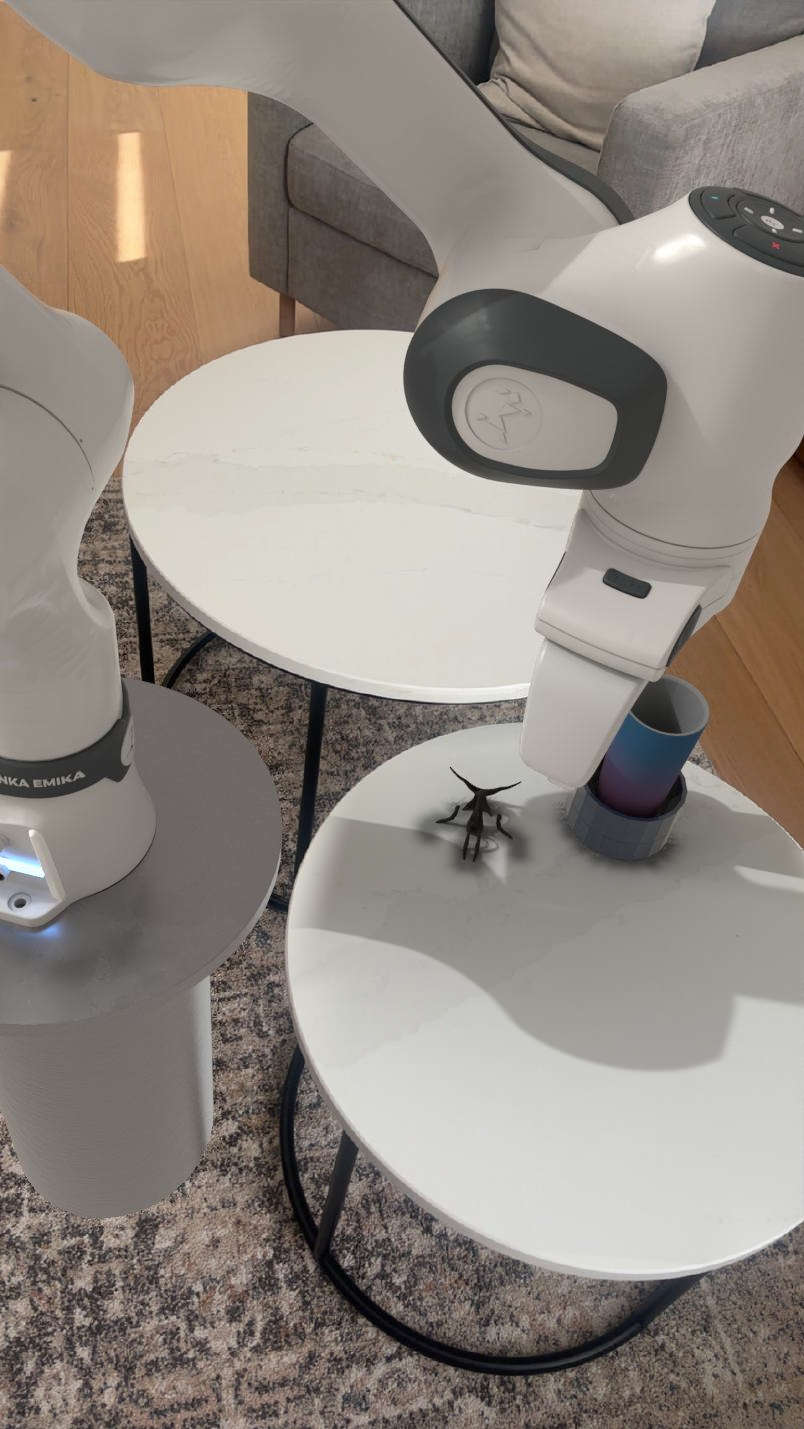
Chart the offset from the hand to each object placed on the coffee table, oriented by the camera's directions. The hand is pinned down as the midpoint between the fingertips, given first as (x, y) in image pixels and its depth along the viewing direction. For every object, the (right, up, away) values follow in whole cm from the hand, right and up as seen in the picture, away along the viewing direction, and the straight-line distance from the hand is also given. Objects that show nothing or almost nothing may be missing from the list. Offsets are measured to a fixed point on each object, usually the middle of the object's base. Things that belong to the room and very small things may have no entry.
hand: (593, 728), depth 65 cm
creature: (-5, -10, +28) cm, 30 cm away
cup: (+7, -9, +30) cm, 32 cm away
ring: (+7, -9, +30) cm, 32 cm away
